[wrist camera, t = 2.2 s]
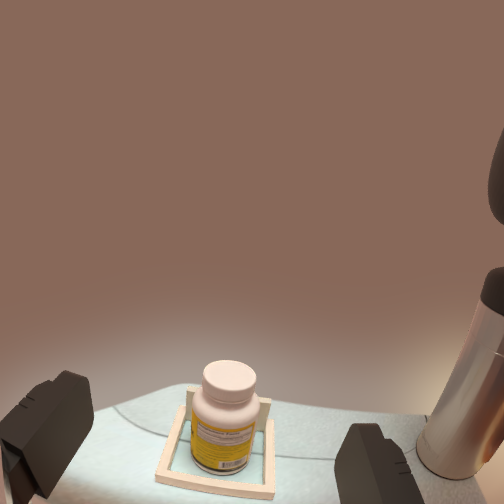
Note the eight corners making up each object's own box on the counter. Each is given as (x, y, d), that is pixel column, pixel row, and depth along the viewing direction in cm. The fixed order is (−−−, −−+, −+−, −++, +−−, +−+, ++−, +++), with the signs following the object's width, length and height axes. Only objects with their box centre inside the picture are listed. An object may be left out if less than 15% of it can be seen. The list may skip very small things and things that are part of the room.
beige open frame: (271, 427, 30) (279, 399, 29) (272, 499, 20) (282, 474, 19) (179, 413, 30) (180, 384, 29) (155, 481, 20) (153, 454, 19)
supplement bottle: (206, 428, 28) (215, 347, 26) (257, 447, 26) (276, 367, 24) (178, 461, 23) (180, 378, 21) (235, 485, 21) (251, 405, 19)
